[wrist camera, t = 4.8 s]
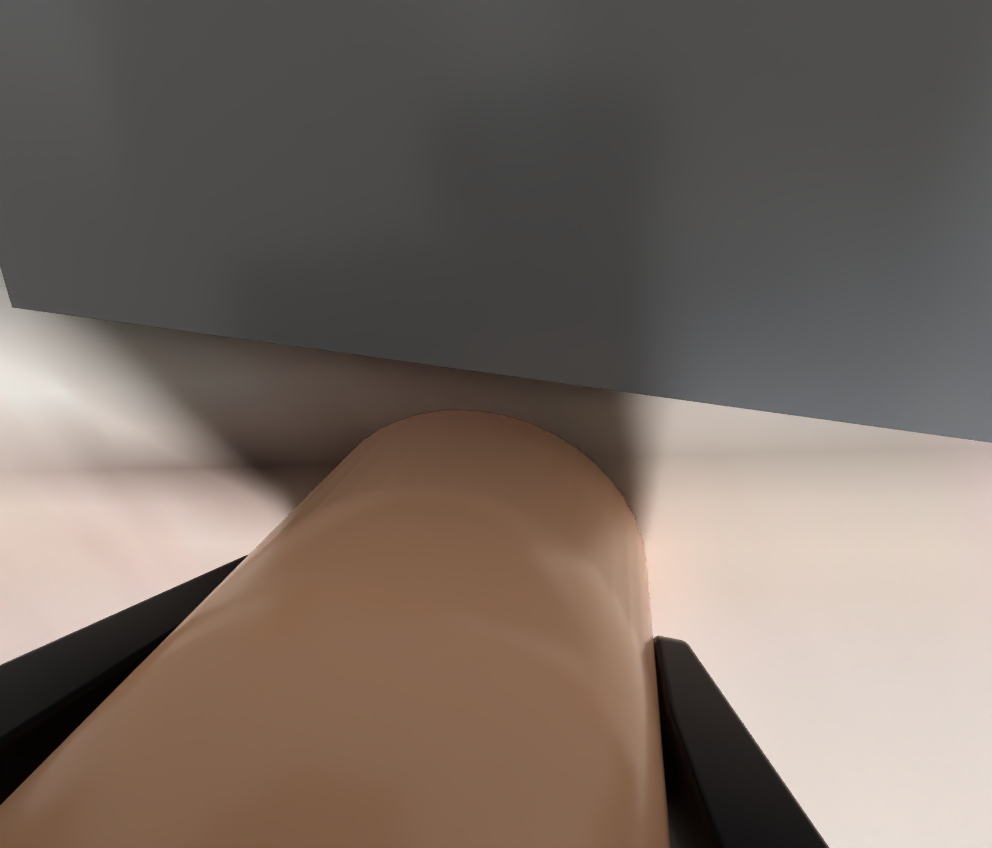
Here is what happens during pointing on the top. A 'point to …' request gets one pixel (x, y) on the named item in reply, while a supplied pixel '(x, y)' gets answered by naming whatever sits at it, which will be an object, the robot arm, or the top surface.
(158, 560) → the top surface
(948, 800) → the top surface
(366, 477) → the peach domed cylinder
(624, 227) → the slate board
